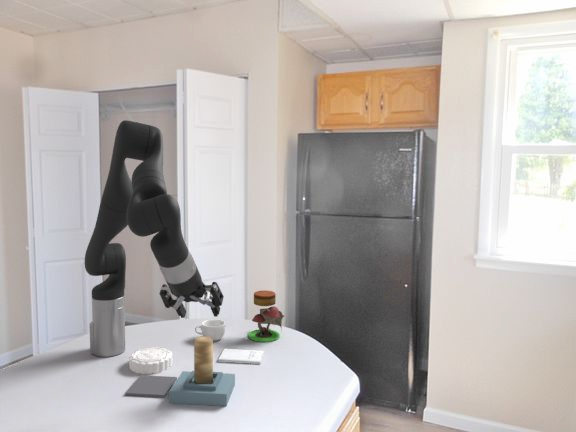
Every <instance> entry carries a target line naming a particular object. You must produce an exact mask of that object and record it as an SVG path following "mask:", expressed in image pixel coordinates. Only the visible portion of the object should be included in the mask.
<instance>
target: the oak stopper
mask: <svg viewBox="0 0 576 432" xmlns="http://www.w3.org/2000/svg"><path fill="white" fill-rule="evenodd" d="M193 355H194V356H193V359H194V360H193V371H194V384H212V383H213V372H214V369H213V368H214V341H213V339H212V338H210V337H204V336H199V337H196V338H194V340H193Z"/></svg>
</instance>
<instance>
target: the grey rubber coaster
mask: <svg viewBox="0 0 576 432" xmlns="http://www.w3.org/2000/svg"><path fill="white" fill-rule="evenodd" d="M177 379H178V377H177V376H168V375H167V376H166V375H165V376H162V375H148V374H140V375H139V377H137V379H136V380H135V381H134V382H133V383H132V384H131V386H130V387H129V388H128V390H126V392H125V393H124V394H125V396H130V397H150V398H166V396H167V395H168V394H169V391H170V389H171V388H172V386H173V385H174V383H175V382H176V380H177Z"/></svg>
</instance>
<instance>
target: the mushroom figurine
mask: <svg viewBox="0 0 576 432" xmlns="http://www.w3.org/2000/svg"><path fill="white" fill-rule="evenodd" d="M276 298H277V295H276V292H274V291H272V290H258V291H254V293H253V304H254V305H255V306H258V307H267V308H259V313H258V314H255V315H254V317H253V318H252V320H251V321H252V322H253V323H254V322H255V323H257V328H258V329H255V330H251V331H250V332H248V338H249V340H252V341H253V342H257V343H259V342H260V343H269V342H270V343H271V342H274V341H277V340H279V339H280V337H281V336H280V335H281V334H280V332H278V331H277V330H274V329H271V328H270V326H271V325H272V326H274V325H275V326H279V327H280V329H281V330H280V331H281V332H282V330H283V327H282V326H283V318H284V317H285V315H284V314H283V313H282V311H281V310H279V308H278V307H277V306H274V305H275V304H276ZM262 325H266V326H262Z"/></svg>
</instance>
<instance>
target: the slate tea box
mask: <svg viewBox="0 0 576 432" xmlns="http://www.w3.org/2000/svg"><path fill="white" fill-rule="evenodd" d="M235 386H236V373H224V372H222V371H213V383H212V384H194V370H191V371H181V373H180V375H179V376H178V377H177V380H176V381H175V383H174V384H173V386H172V387H171V389H170V390H169V392H168V394H169V395H168V398H169V400H168V401H169V402H168V403H169V404H180V405H183V404H185V405H199V406H200V405H201V406H220V407H227V406H228V403H229V401H230V399H231V396H232V393H233V390H234V388H235Z"/></svg>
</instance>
